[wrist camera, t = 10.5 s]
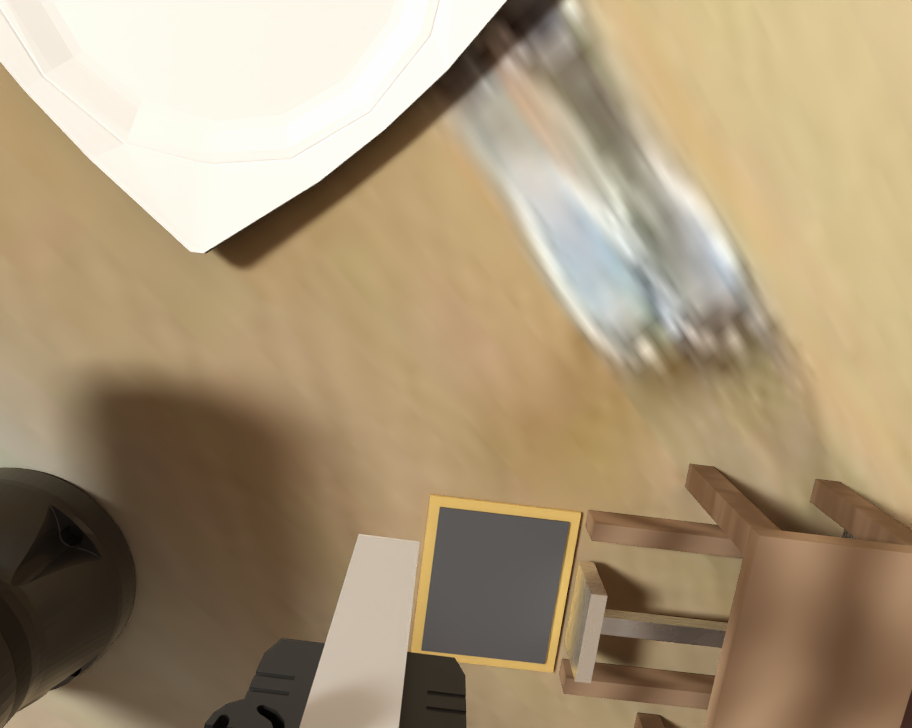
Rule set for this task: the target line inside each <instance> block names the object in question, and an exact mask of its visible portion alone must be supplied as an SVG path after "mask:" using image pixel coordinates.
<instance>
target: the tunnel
mask: <svg viewBox="0 0 912 728" xmlns="http://www.w3.org/2000/svg"><path fill="white" fill-rule="evenodd" d="M685 487H686V488H687V490H688V491H689V492H690V493H691V494H692V495H693V497H694V498H695V499H696V500H697V501H698V502H699V504H700V505H701V506H702V507H703V508H704V509H705V510H706V512H707V513H708V514H709V515H710V516H711V517H712V519H713V520H714V521H715V522H716V523H717V524H718V525H712V524H704V523H695V522H687V521H678V520H670V519H661V518H653V517H644V516H636V515H627V514H619V513H610V512H602V511H593V510H589V511H588V517H587V522H586V529H587V531H588V533H589V536H590V538H591V540H592V541H599V542H607V543H616V544H625V545H633V546H642V547H650V548H659V549H667V550H676V551H685V552H693V553H702V554H710V555H719V556H728V557H736V558H743V561H742V565H741V570H740V574H739V578H738V582H737V587H736V591H735V595H734V599H733V603H732V608H731V612H730V616H729V620H728V625H727V629H726V633H725V637H724V642H723V646H722V650H721V654H720V659H719V663H718V667H717V671H716V676H711V675H702V674H693V673H684V672H675V671H666V670H657V669H648V668H639V667H630V666H621V665H612V664H603V663H595V664H594V669H593V675H592V680H591V683H583V682H575V680H574V676H573V673H572V669H571V665H570V661H569V660H567V659H562V661H561V667H560V672H559V675H560V680H561V684H562V688H563V693H564V694H571V695H580V696H590V697H599V698H608V699H617V700H626V701H635V702H644V703H653V704H663V705H672V706H681V707H690V708H699V709H708V710H707V714H706V718H705V722H704V727H703V728H900V726H901V723H902V720H903V716H904V713H905V710H906V707H907V703H908V700H909V697H910V694H911V690H912V531H911V530H910V529H908V528H907V527H905V526H904V525H902V524H901V523H899V522H898V521H896V520H895V519H893V518H892V517H890V516H889V515H888V514H886V513H885V512H883V511H882V510H880V509H879V508H877V507H876V506H874V505H873V504H871V503H870V502H868V501H867V500H866V499H864V498H863V497H861V496H860V495H858V494H857V493H855V492H854V491H852V490H851V489H849V488H848V487H846V486H845V485H844V484H842V483H841V482H837V481H828V480H820V479H816V480H815V484H814V488H813V492H812V496H811V500H810V502H811V503H812V504H814V505H815V506H816V507H817V508H819V509H820V510H821V511H822V512H824V513H825V514H826V515H827V516H829V517H830V518H831V519H833V520H834V521H835V522H836V523H838V524H839V525H840V526H841V527H843V528H844V529H845V530H846V531H848V532H849V533H850V534H851V535H853V536H854V537H855V538H856V539H849V538H841V537H832V536H824V535H815V534H807V533H798V532H790V531H781V530H780V529H779V528H778V527H777V526H776V525H775V524H773V523H772V522H771V521H770V520H769V519H768V518H767V517H766V516H765V515H764V514H763V513H762V512H761V511H760V510H759V509H758V508H757V507H756V506H755V505H754V504H753V503H751V502H750V501H749V500H748V499H747V498H746V497H745V496H744V495H743V494H742V493H741V492H740V491H739V490H738V489H737V488H736V487H735V486H734V485H733V484H732V483H730V482H729V481H728V480H727V479H726V478H725V477H724V476H723V475H722V474H721V473H720V472H719V471H718V470H717V469H716V468H715V467H712V466H704V465H695V464H690V465H689V470H688V475H687V480H686V484H685ZM634 728H665V727H664V725H663V722H662V720H661V717H660V715H653V714H644V713H637V717H636V722H635V726H634Z"/></svg>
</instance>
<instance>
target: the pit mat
mask: <svg viewBox="0 0 912 728" xmlns="http://www.w3.org/2000/svg"><path fill="white" fill-rule="evenodd" d="M580 518H581V512H578V511H569V510H561V509H552V508H543V507H535V506H526V505H518V504H509V503H501V502H492V501H484V500H475V499H467V498H458V497H450V496H441V495H433V494H431V495H430V503H429V511H428V519H427V527H426V534H425V542H424V550H423V558H422V566H421V574H420V582H419V590H418V598H417V605H416V613H415V621H414V629H413V637H412V645H411V652H413V653H421V654H430V655H438V656H446V657H454V658H455V659H456V661H457V662H462V663H471V664H480V665H489V666H498V667H507V668H516V669H525V670H534V671H543V672H552V673H553V670H554V664H555V658H556V653H557V647H558V641H559V636H560V630H561V625H562V619H563V613H564V608H565V602H566V596H567V591H568V585H569V580H570V574H571V568H572V563H573V557H574V551H575V546H576V540H577V535H578V529H579V523H580Z"/></svg>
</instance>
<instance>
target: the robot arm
mask: <svg viewBox="0 0 912 728" xmlns="http://www.w3.org/2000/svg"><path fill="white" fill-rule="evenodd" d="M418 550H419V542H418V541H410V540H402V539H394V538H387V537H379V536H371V535H363V534H359V535H358V538H357V541H356V544H355V548H354V551H353V554H352V557H351V561H350V564H349V567H348V571H347V574H346V577H345V580H344V584H343V587H342V590H341V593H340V597H339V600H338V603H337V606H336V610H335V613H334V616H333V619H332V623H331V626H330V629H329V632H328V636H327V639H326V642H325V643H317V642H309V641H301V640H293V639H284V638H282V639H280V640H279V641H278V642H277V643H276V644H275V645H273V646H272V647H271V648H270V649H269V650H268V651H266V652H265V653H264V656H263V658H262V660H261V662H260V665H259V667H258V669H257V671H256V675H255V676H254V678H253V681H252V683H251V685H250V688H249V691H248V692H247V694H246V697H245V699H243V700H239V701H236V702H232V703H229V704H227V705H225V706H223V707H222V708H220V709H219V710H217V711H215V712H214V713H213V714H212V716H211V717H210V718H209V719H208V721H207V722H206V723H205V727H204V728H466V699H465V696H466V688H465V674H464V673H463V671H462V669H461V668H460V666H459V664H458V662H457V661H456V659H455V658H454V657H446V656H438V655H430V654H421V653H413V652H407V649H408V640H409V631H410V622H411V613H412V604H413V595H414V586H415V577H416V568H417V559H418ZM134 597H135V571H134V565H133V561H132V557H131V554H130V551H129V548H128V546H127V544H126V541H125V539H124V537H123V535H122V534H121V532H120V530H119V529H118V527H117V526H116V524H115V523H114V521H113V520H112V519H111V518H110V516H109V515H108V514H107V513H106V512H105V511H104V510H103V509H102V507H101V506H99V505H98V504H97V503H96V502H95V501H94V500H93V499H92V498H90V497H89V496H88V495H86V494H85V493H84V492H82V491H81V490H79V489H78V488H76V487H74V486H73V485H71V484H69V483H67V482H65V481H63V480H61V479H58V478H56V477H53V476H51V475H48V474H45V473H41V472H38V471H33V470H28V469H21V468H0V728H3V727H4V726H5V724H6V723H7V722H8V721H9V720H10V719H11V718H12V717H13V715H14V714H15V713H16V712H18V711H20V710H22V709H23V708H25V707H27V706H29V705H30V704H32V703H34V702H35V701H37V700H38V699H40V698H41V697H43V696H44V695H45V694H47V693H48V692H49V691H50V690H53V689H56V688H58V687H60V686H63V685H65V684H67V683H68V682H70V681H72V680H74V679H75V678H77V677H78V676H80V675H81V674H83V673H84V672H85V671H87V670H88V669H89V668H90V667H91V666H93V665H94V664H95V663H96V662H97V661H98V660H99V659H100V658H101V657H102V655H103V654H104V653H105V652H106V650H107V649H108V648H109V647H110V645H111V644H112V643H113V642H114V641H115V639H116V638H117V637H118V636H119V634H120V633H121V631H122V630H123V628H124V626H125V624H126V623H127V620H128V618H129V616H130V613H131V610H132V607H133V603H134Z"/></svg>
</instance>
